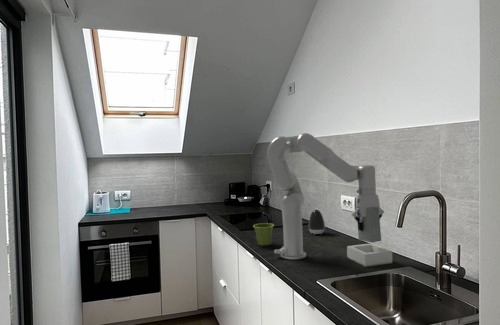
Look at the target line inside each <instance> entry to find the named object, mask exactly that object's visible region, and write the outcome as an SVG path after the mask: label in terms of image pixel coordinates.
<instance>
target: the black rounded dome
mask: <svg viewBox="0 0 500 325" xmlns="http://www.w3.org/2000/svg"><path fill="white" fill-rule="evenodd" d="M325 229H326V224H325V221H324V216H323V214H322V213H321V211H320V210H318V209H313V210H312V212H310V216H309V220H308V230H309V232H310V233H311V234H312V233H313V234H312V235H315V234H320V235H322V234H323V233H324V232H325Z"/></svg>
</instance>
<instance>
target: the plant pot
mask: <svg viewBox="0 0 500 325" xmlns="http://www.w3.org/2000/svg"><path fill="white" fill-rule="evenodd" d="M274 226H275V224H274V223H268V222H264V223H263V222H262V223H255V224H253V226H252V227H253V228H254V231H255V236H256V237H255V238H256V240H257V245H258V244H259V245H270V244H271V245H272V237H273V230H274ZM259 245H258V246H259ZM271 245H270V246H271Z"/></svg>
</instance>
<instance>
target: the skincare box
mask: <svg viewBox="0 0 500 325" xmlns="http://www.w3.org/2000/svg"><path fill="white" fill-rule="evenodd" d="M356 209H357V207H356ZM356 209H355V210H356ZM358 214H360V212H358ZM356 215H357V214H356ZM357 217H358V215H357ZM380 221H381V218H379V207H375V208H367V217H364V218H363V220H362V222H363V231H360V230H358V229H357V232H358V234H357V235H358V241H362V242H367V243H373V244H374V243H377V242H381V241H382V232H381V223H380Z"/></svg>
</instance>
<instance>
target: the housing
mask: <svg viewBox="0 0 500 325" xmlns="http://www.w3.org/2000/svg"><path fill="white" fill-rule="evenodd" d="M346 258H347V259H349V260H352V261H354V262H355V263H357V264H359V265H361V266H363V267H365V268H368V267H375V266H381V265H388V264H389V265H390V264H393V251H392V250H391V249H387V248H385V247H383V246H381V245H378V244H375V243H374V242H373V243H372V242H370V243H363V244H355V245H348V246H346Z"/></svg>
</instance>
